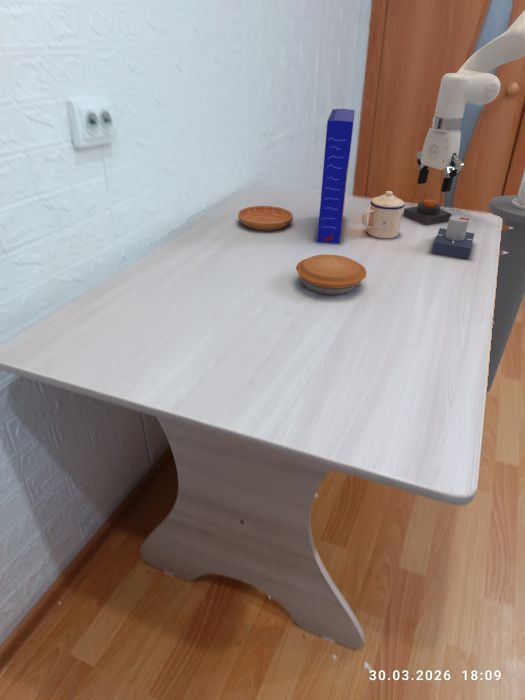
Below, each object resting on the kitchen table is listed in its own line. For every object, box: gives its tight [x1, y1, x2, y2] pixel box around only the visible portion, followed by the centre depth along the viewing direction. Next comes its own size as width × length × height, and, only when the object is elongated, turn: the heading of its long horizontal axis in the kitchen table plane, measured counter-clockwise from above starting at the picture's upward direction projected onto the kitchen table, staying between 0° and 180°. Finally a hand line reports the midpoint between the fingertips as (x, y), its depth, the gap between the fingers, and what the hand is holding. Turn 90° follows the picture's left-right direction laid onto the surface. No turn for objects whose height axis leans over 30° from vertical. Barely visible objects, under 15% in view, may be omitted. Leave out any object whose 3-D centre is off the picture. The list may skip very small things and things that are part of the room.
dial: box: [445, 215, 470, 241], centre depth 124 cm, size 5×5×5 cm
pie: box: [295, 253, 367, 296], centre depth 106 cm, size 15×16×5 cm
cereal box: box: [316, 108, 356, 244], centre depth 129 cm, size 22×6×30 cm, turn 170°
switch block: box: [402, 201, 453, 226], centre depth 147 cm, size 10×10×4 cm
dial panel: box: [431, 227, 475, 260], centre depth 126 cm, size 12×9×3 cm
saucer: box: [237, 205, 294, 231], centre depth 140 cm, size 16×16×3 cm
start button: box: [423, 198, 437, 207], centre depth 145 cm, size 4×4×2 cm
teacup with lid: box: [361, 190, 405, 239], centre depth 132 cm, size 12×9×12 cm
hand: (433, 187), depth 143 cm, fingers open, 9 cm apart
